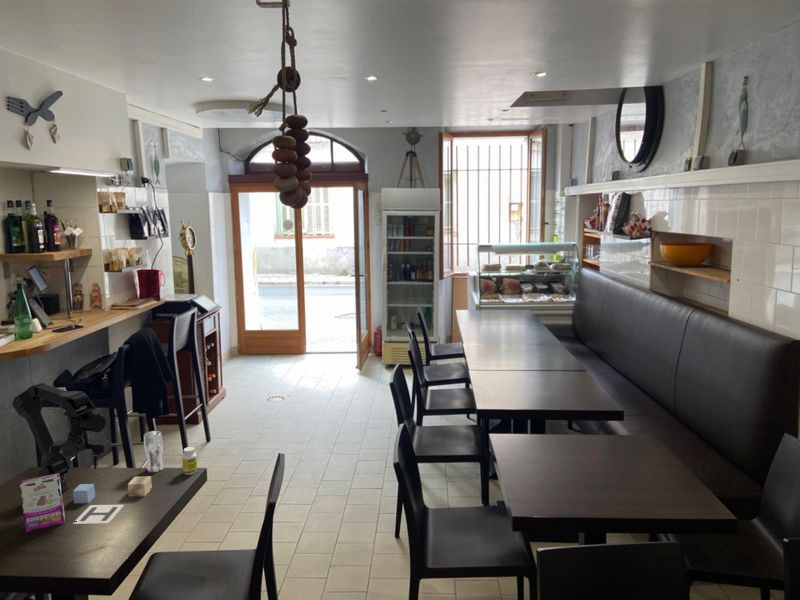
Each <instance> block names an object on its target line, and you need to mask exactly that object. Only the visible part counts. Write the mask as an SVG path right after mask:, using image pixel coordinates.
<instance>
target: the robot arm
mask: <svg viewBox="0 0 800 600" xmlns="http://www.w3.org/2000/svg"><path fill="white" fill-rule="evenodd" d="M42 400H46V401H50V402H52V403H54V404H58V405H59V407H60V408H61V409H62V410H64V411H65V412H63V416H65V417H67V421H68V422H67V423H68V430H69V432H68V433H67V438H66V440H65V439H63V440H62V439H61V440H59V439H58V440H57V441H54V439H53V437H52V435H51V432H50V430H49V427H48V426H47V424H46V421H45V420H44V417H43V415H42V409H43V402H42ZM93 403H94V402H92V401H91V399H90V398H89V396H88V395H87V393H86V392H85V391H78V390H72V391H68V390H64V389H61V388H59V387H58V388H57V387H54V386H52V385H48V384H46V383H44V382H40V383H36V384H33V385H30V386H29V387H28V388H27V389H26V390H25V391H23V392H21V393H20V394H18V395H16V396H14V397H13V399H12V404H11V405H12V407H13V408H14V409H15V412H16V413H17V415H19V416H20V417H22V418H24V419H25V420H26V422H27V425H28V427H29V429H30V431H31V434H32V436H33V438H34V440H35V442H36V445H37V446H38V449H39V451H40V454H41V459H40V463H39V464H40V467H41V469H40V470H39V472H38V473H37V475H36V478H37V477H42V476H46V475H52V474H57V473H59V475H60V483H61V490H62V494H64V492H66V491H67V490H68V489H69V486H68V485H67V479H66V478H65V474H68V472H69V471H70V470H71V469H72V468H71V467H72V459H71V458H72V457H76V456H78V455H79V453H80V452H84V451H85V450H91V452H92V453H91V456H92V457H93V458H92V459H93V461H92V462H93V470H97V468H98V466H99V462H100V460H101V457H102V454H103V453H105V452H107V450H108V449H109V448H110V447H111V442H110V440H109V439H97V440H96V441H95V442H94V443H93V442H92V443H91V440H92V439H91V438H90V437H89V432H93V433H98V434H99V433H101V432H102V431H103V430H105V428H106V424H107V420H106V418H105V417H104V416H103V415H101V413H100V412H99V411H96V407H95V404H93Z"/></svg>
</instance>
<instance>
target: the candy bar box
mask: <svg viewBox="0 0 800 600" xmlns="http://www.w3.org/2000/svg"><path fill="white" fill-rule="evenodd" d="M19 492H20V498H21V507H22V512H23V519H24V526H25V527H24V528H25V532H26V533H29V532H33V531H37V530H42V529H47V528H49V527H50V526H51V527H54V526H59V525H63V523H64V524H65V519H66V514H65V507H64V500H63V499H64V498H63V493H62V490H61V483H60V475H59V473H57V474H52V475H46V476H42V477H37V476H36V477H31V478H28V479H23V480H21V481H20V484H19ZM46 527H47V528H46ZM41 528H42V529H41ZM28 531H29V532H28Z"/></svg>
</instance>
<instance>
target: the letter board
mask: <svg viewBox="0 0 800 600" xmlns="http://www.w3.org/2000/svg"><path fill="white" fill-rule="evenodd" d="M124 506H125V504H90V505H89V506H88V507H87V508H86V509H85V510H84V511H83V512H82V513H81V514H79V516H78V517H77V518H76V519H75V520H74V521H77V522H75V523H74V521H73V524H74V525H76V524H77V525H78V524H79V525H80V524H81V525H83V524H86V525H88V524H91V525H92V524H110V522H111V521H112V519H113V518H114V517H115V516H116V515H117V514H118V513H119V512H120V511H121V509H122V508H123V507H124ZM73 524H72V525H73Z"/></svg>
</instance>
